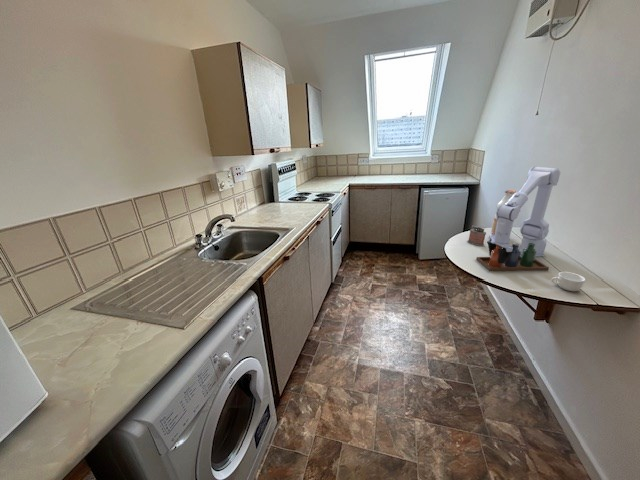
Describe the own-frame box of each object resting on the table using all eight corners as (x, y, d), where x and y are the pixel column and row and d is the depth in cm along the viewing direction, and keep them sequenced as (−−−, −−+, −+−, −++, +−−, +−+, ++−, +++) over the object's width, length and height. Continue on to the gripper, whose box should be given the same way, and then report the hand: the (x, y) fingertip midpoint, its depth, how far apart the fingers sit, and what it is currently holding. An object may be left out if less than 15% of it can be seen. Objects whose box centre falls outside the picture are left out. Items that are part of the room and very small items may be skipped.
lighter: (484, 244, 147) (488, 227, 144) (482, 246, 145) (485, 229, 142) (469, 240, 153) (472, 224, 149) (466, 242, 151) (469, 225, 147)
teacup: (573, 284, 108) (577, 272, 106) (585, 294, 101) (590, 282, 99) (544, 281, 111) (548, 270, 109) (554, 291, 104) (558, 279, 102)
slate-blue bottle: (512, 262, 126) (517, 242, 122) (519, 267, 122) (525, 246, 118) (501, 262, 126) (506, 242, 122) (508, 267, 122) (513, 246, 118)
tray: (529, 259, 129) (530, 256, 128) (547, 271, 118) (549, 267, 117) (475, 260, 130) (476, 257, 129) (488, 272, 120) (489, 268, 119)
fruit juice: (486, 236, 158) (496, 190, 147) (497, 234, 160) (508, 188, 150) (500, 242, 149) (512, 193, 139) (512, 239, 152) (525, 191, 142)
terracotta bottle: (497, 262, 127) (502, 242, 123) (503, 267, 122) (508, 246, 118) (486, 262, 127) (491, 242, 123) (492, 267, 122) (497, 246, 118)
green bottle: (527, 262, 126) (533, 241, 122) (535, 267, 121) (541, 246, 117) (516, 262, 126) (522, 241, 122) (523, 267, 121) (529, 246, 118)
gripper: (484, 226, 125) (479, 252, 130) (503, 238, 112) (496, 266, 117) (500, 226, 125) (494, 252, 130) (520, 238, 111) (513, 266, 116)
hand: (496, 259), depth 123 cm, fingers open, 7 cm apart
